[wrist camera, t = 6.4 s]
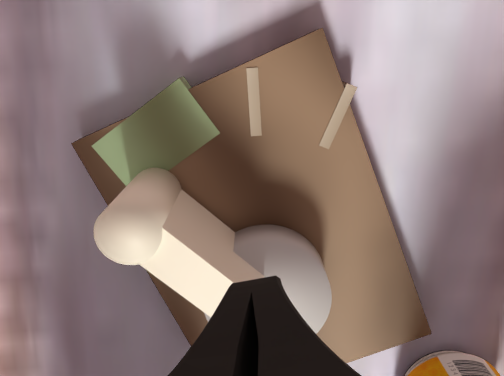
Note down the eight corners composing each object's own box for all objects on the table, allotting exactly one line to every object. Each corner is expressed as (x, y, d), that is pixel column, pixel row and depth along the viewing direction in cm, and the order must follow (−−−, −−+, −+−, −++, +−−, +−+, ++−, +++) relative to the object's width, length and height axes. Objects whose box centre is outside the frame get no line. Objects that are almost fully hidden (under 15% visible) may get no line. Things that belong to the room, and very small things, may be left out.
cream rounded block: (348, 274, 21) (376, 337, 16) (268, 346, 22) (273, 423, 17) (176, 128, 18) (151, 153, 14) (99, 219, 20) (52, 270, 15)
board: (227, 388, 25) (225, 405, 24) (74, 126, 20) (63, 131, 18) (432, 316, 23) (441, 331, 22) (324, 10, 18) (329, 7, 17)
